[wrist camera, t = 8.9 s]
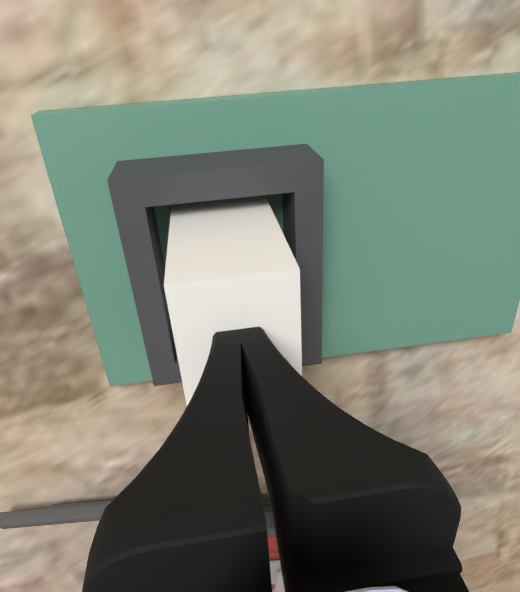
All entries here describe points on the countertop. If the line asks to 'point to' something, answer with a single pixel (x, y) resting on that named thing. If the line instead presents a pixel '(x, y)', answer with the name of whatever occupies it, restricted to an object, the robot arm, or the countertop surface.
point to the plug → (229, 280)
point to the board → (302, 208)
